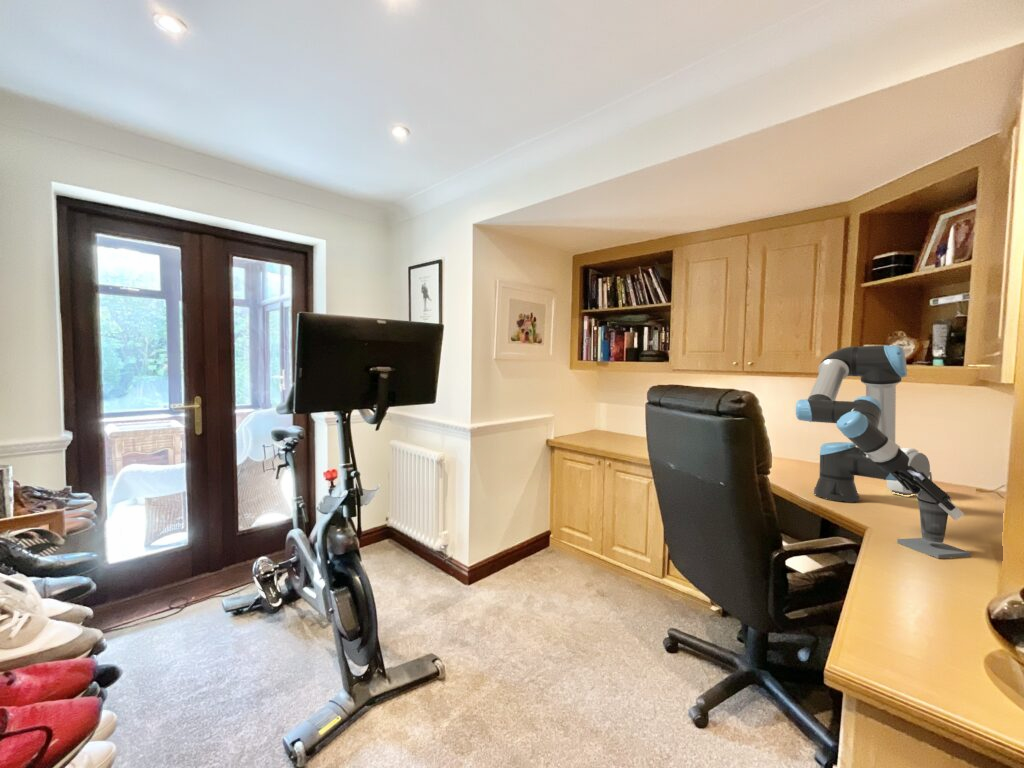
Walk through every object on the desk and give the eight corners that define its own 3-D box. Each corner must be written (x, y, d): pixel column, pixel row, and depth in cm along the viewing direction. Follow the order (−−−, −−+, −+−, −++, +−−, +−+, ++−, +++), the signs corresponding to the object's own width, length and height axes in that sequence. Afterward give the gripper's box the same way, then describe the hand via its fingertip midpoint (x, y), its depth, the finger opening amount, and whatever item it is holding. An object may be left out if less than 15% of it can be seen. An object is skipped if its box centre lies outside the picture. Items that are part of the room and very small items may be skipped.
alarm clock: (907, 490, 188) (908, 445, 188) (931, 495, 180) (933, 448, 180) (882, 493, 182) (883, 447, 181) (905, 499, 174) (907, 451, 173)
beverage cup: (939, 545, 119) (942, 476, 119) (909, 536, 126) (911, 470, 126) (956, 543, 121) (959, 475, 121) (926, 533, 128) (928, 469, 128)
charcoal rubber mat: (927, 541, 130) (927, 537, 130) (970, 556, 119) (970, 552, 119) (897, 543, 129) (897, 539, 129) (938, 558, 118) (938, 554, 118)
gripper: (855, 456, 136) (912, 509, 133) (898, 470, 117) (966, 533, 114) (875, 441, 135) (932, 494, 132) (921, 452, 115) (990, 515, 113)
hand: (947, 512), depth 123 cm, fingers closed on beverage cup, 7 cm apart
